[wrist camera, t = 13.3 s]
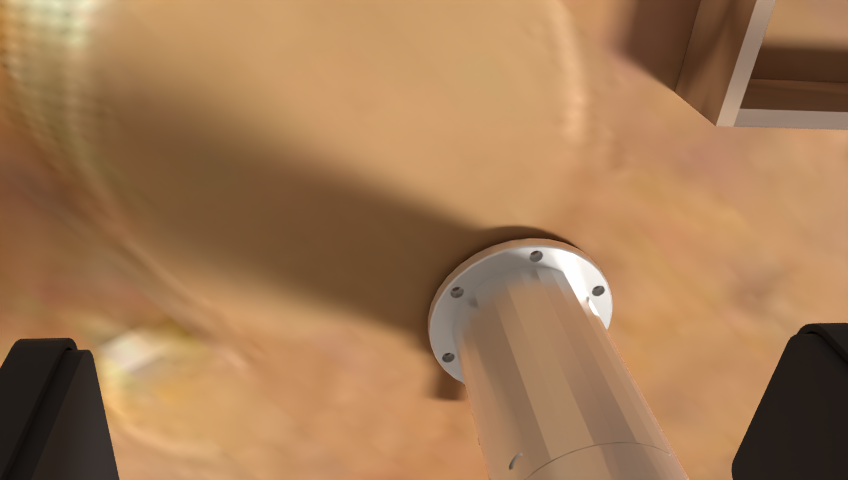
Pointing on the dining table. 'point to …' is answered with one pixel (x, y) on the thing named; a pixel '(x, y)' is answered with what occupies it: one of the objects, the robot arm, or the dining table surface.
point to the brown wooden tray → (731, 69)
